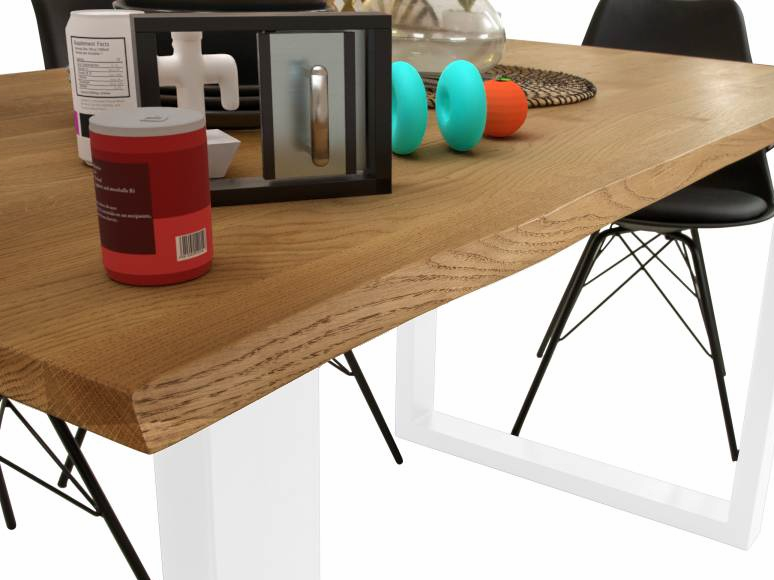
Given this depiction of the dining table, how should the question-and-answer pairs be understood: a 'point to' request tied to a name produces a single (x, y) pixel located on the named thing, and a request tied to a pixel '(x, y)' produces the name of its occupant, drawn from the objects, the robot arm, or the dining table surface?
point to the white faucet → (202, 90)
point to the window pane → (307, 103)
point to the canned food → (152, 194)
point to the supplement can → (99, 67)
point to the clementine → (504, 107)
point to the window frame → (370, 96)
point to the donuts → (438, 106)
